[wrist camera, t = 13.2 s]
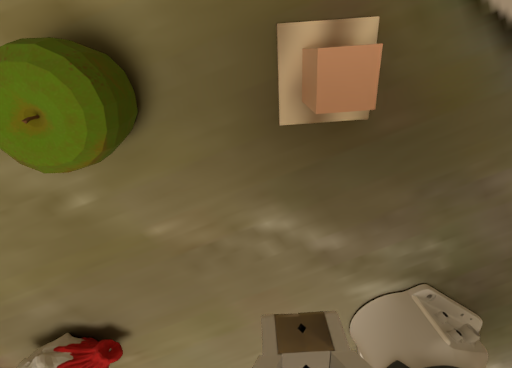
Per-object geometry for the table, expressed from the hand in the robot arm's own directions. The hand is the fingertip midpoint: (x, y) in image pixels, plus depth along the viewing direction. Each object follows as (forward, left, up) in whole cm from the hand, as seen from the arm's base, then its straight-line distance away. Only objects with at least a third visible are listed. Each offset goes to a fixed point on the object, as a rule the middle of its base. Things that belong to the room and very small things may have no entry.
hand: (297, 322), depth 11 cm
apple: (+19, +3, -24) cm, 31 cm away
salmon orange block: (-3, -9, -24) cm, 26 cm away
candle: (+13, +44, -24) cm, 52 cm away
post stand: (-3, -9, -24) cm, 26 cm away
